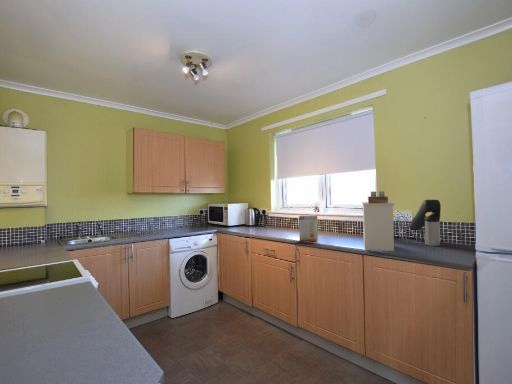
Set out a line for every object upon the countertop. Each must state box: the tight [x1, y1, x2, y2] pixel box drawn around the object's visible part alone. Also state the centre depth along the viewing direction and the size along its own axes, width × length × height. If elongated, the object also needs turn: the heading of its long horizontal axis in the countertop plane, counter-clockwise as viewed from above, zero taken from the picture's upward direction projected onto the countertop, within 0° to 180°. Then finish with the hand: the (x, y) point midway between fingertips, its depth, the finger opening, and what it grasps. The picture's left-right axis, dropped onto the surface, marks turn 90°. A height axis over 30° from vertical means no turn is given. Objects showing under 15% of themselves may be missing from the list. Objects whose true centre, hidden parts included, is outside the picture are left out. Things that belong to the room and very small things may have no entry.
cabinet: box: [361, 201, 395, 252], centre depth 198 cm, size 24×19×32 cm
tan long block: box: [367, 190, 389, 203], centre depth 203 cm, size 34×12×8 cm, turn 161°
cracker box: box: [298, 214, 319, 242], centre depth 229 cm, size 14×6×21 cm, turn 58°
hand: (373, 207), depth 225 cm, fingers open, 8 cm apart
